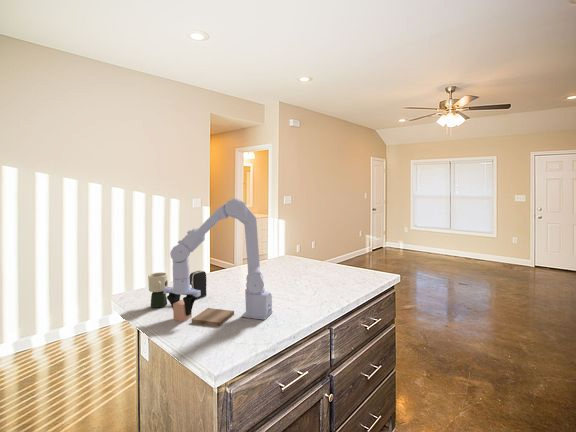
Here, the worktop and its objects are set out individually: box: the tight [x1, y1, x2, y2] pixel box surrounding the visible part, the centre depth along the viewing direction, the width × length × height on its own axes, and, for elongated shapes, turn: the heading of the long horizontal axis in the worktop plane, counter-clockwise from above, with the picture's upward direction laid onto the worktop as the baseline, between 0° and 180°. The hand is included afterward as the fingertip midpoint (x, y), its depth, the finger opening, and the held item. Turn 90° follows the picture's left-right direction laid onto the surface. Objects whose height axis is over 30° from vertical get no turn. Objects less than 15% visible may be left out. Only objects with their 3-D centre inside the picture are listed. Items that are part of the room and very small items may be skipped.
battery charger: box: [189, 270, 208, 300], centre depth 142 cm, size 7×4×11 cm, turn 145°
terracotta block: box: [172, 299, 193, 322], centre depth 119 cm, size 4×4×6 cm
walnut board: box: [191, 307, 235, 327], centre depth 119 cm, size 11×11×2 cm
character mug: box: [147, 272, 169, 308], centre depth 131 cm, size 11×7×13 cm, turn 28°
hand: (182, 314), depth 119 cm, fingers closed on terracotta block, 4 cm apart
